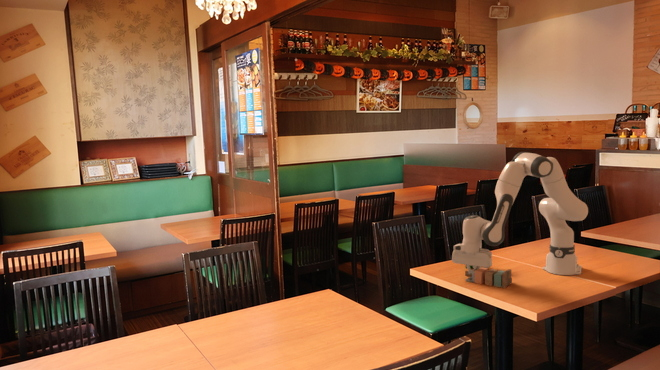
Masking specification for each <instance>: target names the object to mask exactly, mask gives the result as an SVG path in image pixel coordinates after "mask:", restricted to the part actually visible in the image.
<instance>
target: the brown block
mask: <svg viewBox="0 0 660 370" xmlns="http://www.w3.org/2000/svg"><path fill="white" fill-rule="evenodd" d="M498 271H499V270H498V269H493V268H489V270H488V271H487V272H485V282H484V285H485V286H486V285H487V286H494V274H495V273H497V272H498Z"/></svg>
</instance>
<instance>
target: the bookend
mask: <svg viewBox="0 0 660 370" xmlns="http://www.w3.org/2000/svg"><path fill="white" fill-rule="evenodd" d="M479 268H481V267H478V268H476V269H474V270H473V269H472V270H473V271H472V276H471V277H470V276H468V277H467V278H466V279H465V282H470V283H475V271H476V270H477V269H479ZM475 284H476V283H475Z"/></svg>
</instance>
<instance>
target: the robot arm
mask: <svg viewBox="0 0 660 370" xmlns="http://www.w3.org/2000/svg"><path fill="white" fill-rule="evenodd" d="M527 176H531V177H535V178H539V179H540V182H541V186H542V187H543V191H544V194H546V196H547V197H543V198H542V199H541V200H540V202H539V204H538V211H539V213H540V214H541V215H542V216H543V217H544V219H545V220H546V222H547V225H548V227H549V232H550V244H549V247H548V248H549V252H548V253H546V259H545V266H543V267H542V270H544V271H546V272H547V273H549V274H550V273H551V274H554V275H559V276H572V275H573V276H574V275H582V267H583V266H582V265H580V264H579V263H578V256H577V255H576V251H575V250H576V246H575V244H574V243H575V242H574V241H575V231H574V230H573V228H571V227H570V226H569V225H568V224H567V222H566V221H569V222H570V221H571V222H581V221H583V220H585V219H586V218H587V216H588V214H589V207H588V204H586V202H584V201H582V200H581V199H580V198H578V197H577V196H576V195H575V193H574V192H573V191H572V190H571V189H570V188H569V186H568V182H567V181H566V178H565V174H564V172H563V169H562V167H561V165H560V163H559V161H558V159H556V157H552V156H547V157H546V156H544V155H540V154H538V153H534V152H533V153H532V152H528V151H520V152H518V153H517V154H515V155H514V156H513V158H512V160H511V161H509V162H507V163H506V165H504V167H503V169H502V170H501V173H500V175H499V177H498V180H497V182H496V185H495V189H494V194H495V198H496V209H495V212H494V214H493V217H492V220H491V221H490V220H487V219H485V218H482V217H481V216H479V215H477V214H473V215H468V216H466V217H465V218H464V219H463V222H462V235H463V237H462V238H463V239H462V242H460V243H457V244H455V245H453V251H452V255H451V262H452V263H454V264H458V265H465V268H466V267H467V268H466V269H467V271H468V273H469V274H472V271H473V270H474V269H476V268H477V267H482V268H488V269H491V267H492V266H493V260H492V257H493V254H492V251H491V250H490V249H487V248H481V243H482V240H483V242H484V243H485V244H486V245H488V246H490V247H498V246H500V245H501V244H502V243H503V242H504V240H505V236H506V235H505V232H506V231H505V228H506V224H507V221H508V218H509V216H510V212H511V209H512V207H513V204H514V202H515V200H516V198H517V196H518V193H519V191H520V189H521V187H522V183H523V181H524V178H525V177H527ZM470 266H473V268H474V269H471V268H470Z"/></svg>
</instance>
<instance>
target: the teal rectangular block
mask: <svg viewBox="0 0 660 370" xmlns="http://www.w3.org/2000/svg"><path fill="white" fill-rule="evenodd" d="M505 271H506V270H498V272H497V273H495V274H494V285H493V286H494V287H498V288H502V273H504V272H505Z"/></svg>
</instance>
